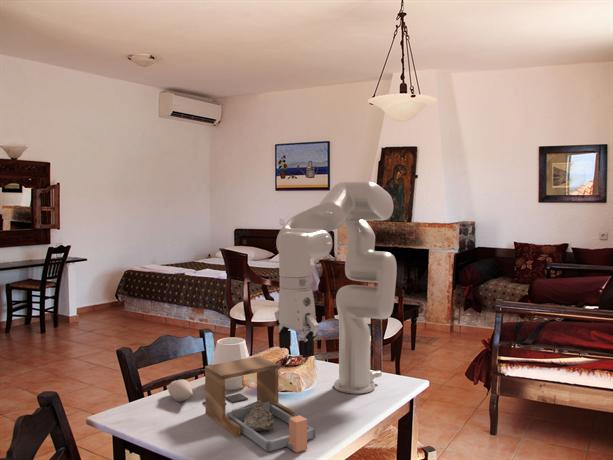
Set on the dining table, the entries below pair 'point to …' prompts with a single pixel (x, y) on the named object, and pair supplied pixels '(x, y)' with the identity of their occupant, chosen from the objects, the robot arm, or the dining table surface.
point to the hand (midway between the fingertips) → (296, 351)
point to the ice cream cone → (180, 390)
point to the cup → (230, 357)
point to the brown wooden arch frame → (216, 393)
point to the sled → (294, 440)
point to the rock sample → (259, 418)
